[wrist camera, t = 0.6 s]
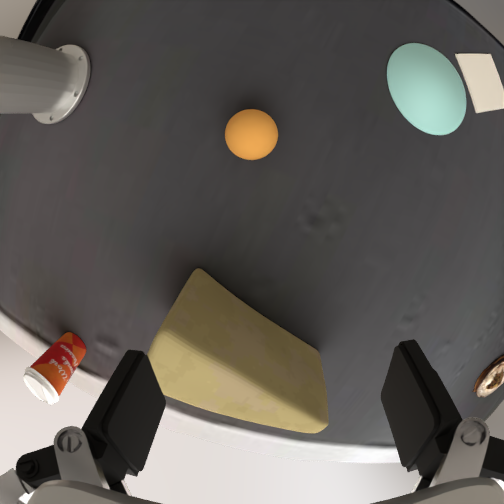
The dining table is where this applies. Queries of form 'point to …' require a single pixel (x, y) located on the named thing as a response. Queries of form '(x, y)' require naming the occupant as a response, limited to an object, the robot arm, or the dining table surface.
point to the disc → (426, 88)
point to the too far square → (482, 81)
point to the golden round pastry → (490, 378)
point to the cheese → (237, 361)
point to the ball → (251, 134)
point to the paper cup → (55, 368)
